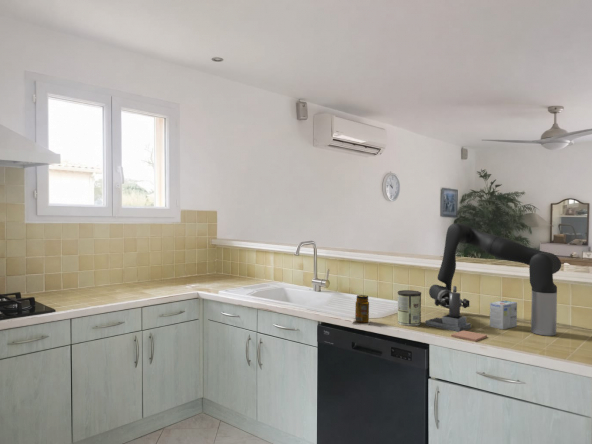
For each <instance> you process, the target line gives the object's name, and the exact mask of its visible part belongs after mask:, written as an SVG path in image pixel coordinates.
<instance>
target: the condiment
mask: <svg viewBox="0 0 592 444" xmlns="http://www.w3.org/2000/svg"><path fill="white" fill-rule="evenodd" d="M354 317H355V318H354V320H353V322H352V324H353V325H362V326H369V325H370V323H371V320H370V302H369V296H368V295H365V294H358V295H356V301H355V316H354Z"/></svg>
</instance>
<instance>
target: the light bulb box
mask: <svg viewBox="0 0 592 444" xmlns="http://www.w3.org/2000/svg"><path fill="white" fill-rule="evenodd" d="M517 321H518V302H517V301H511V300H510V301H509V300H505V299H504V300H499V301H493V302H489V327H491V328H493V329H494V328H495V329H499V330H506V329H512V328H515V327H517V326H518V323H517Z"/></svg>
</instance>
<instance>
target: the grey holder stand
mask: <svg viewBox="0 0 592 444" xmlns="http://www.w3.org/2000/svg"><path fill="white" fill-rule="evenodd" d="M471 324H472V323H470V322H467V316H464V315H460V318H458V319H457V318H452V317H449V314H446V315H443V316H441V317H434V318H429V319H427V320H424V325H425V326H428V327H433V328H437V329H442V330H447V331H451V332H455V333H457V332H460V331H463V330H464V331H468V330H470V329H472V325H471Z"/></svg>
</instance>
